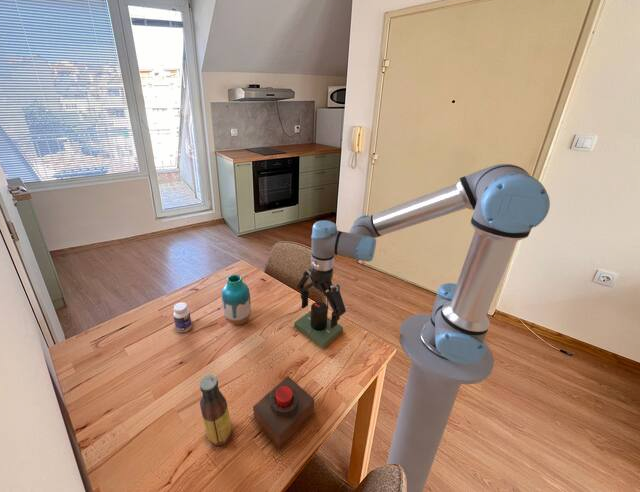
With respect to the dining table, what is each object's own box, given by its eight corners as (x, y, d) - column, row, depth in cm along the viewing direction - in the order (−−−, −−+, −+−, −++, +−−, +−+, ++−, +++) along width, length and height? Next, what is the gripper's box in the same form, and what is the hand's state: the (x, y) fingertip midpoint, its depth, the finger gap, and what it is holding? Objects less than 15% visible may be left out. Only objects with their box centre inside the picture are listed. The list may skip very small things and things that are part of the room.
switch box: (287, 388, 87) (287, 370, 84) (313, 412, 80) (314, 394, 77) (253, 419, 79) (252, 401, 76) (279, 449, 72) (279, 430, 69)
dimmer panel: (342, 332, 107) (343, 327, 106) (323, 349, 100) (323, 343, 99) (313, 313, 116) (313, 308, 115) (294, 327, 109) (294, 321, 108)
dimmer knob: (330, 324, 107) (331, 306, 104) (319, 333, 103) (320, 315, 100) (317, 316, 111) (318, 298, 108) (306, 324, 107) (307, 306, 104)
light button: (284, 388, 80) (284, 382, 79) (295, 399, 77) (295, 393, 76) (272, 398, 77) (272, 393, 76) (283, 410, 74) (283, 405, 73)
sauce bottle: (232, 420, 79) (225, 368, 71) (231, 445, 73) (224, 392, 65) (207, 423, 78) (198, 371, 70) (204, 449, 72) (194, 395, 64)
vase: (256, 313, 117) (253, 273, 109) (244, 332, 107) (241, 289, 100) (232, 307, 120) (228, 268, 112) (219, 325, 111) (213, 283, 103)
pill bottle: (189, 333, 107) (185, 311, 103) (173, 333, 108) (169, 311, 103) (193, 321, 113) (190, 301, 109) (179, 321, 113) (175, 301, 109)
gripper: (287, 255, 103) (287, 303, 112) (346, 287, 86) (340, 341, 95) (302, 248, 107) (300, 295, 116) (360, 277, 91) (354, 329, 100)
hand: (318, 315), depth 106 cm, fingers open, 13 cm apart
